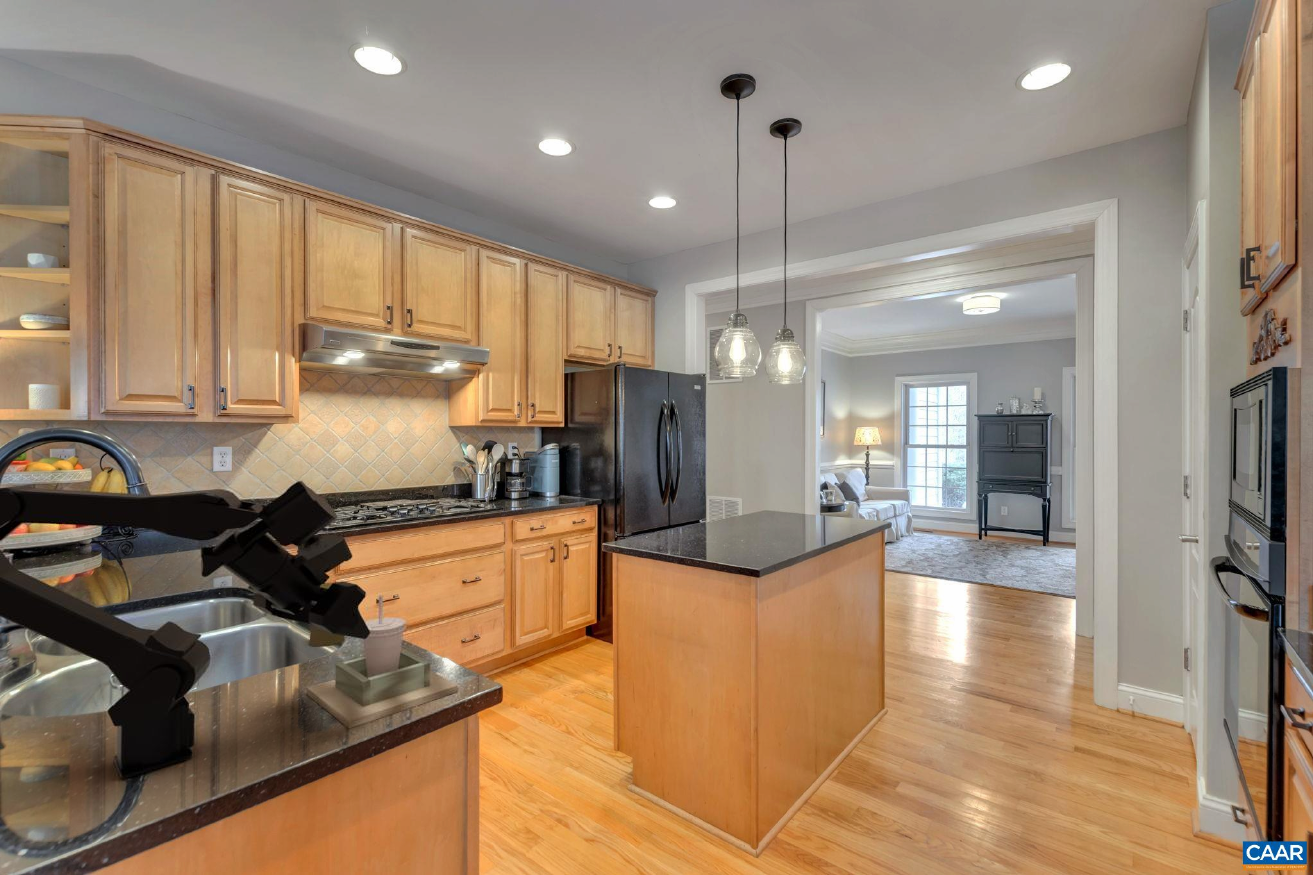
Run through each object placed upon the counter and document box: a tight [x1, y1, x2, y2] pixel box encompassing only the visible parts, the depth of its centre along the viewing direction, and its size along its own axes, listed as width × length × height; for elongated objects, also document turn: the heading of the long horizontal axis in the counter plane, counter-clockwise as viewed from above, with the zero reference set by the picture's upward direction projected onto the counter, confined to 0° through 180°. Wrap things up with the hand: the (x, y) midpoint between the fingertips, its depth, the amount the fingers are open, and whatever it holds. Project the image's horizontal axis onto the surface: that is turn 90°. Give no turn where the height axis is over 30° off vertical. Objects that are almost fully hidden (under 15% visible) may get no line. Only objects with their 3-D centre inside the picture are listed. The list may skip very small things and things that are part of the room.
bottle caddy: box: [306, 647, 459, 729], centre depth 92 cm, size 16×16×4 cm
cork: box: [308, 582, 346, 648], centre depth 115 cm, size 6×6×11 cm
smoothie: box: [362, 595, 407, 678], centre depth 91 cm, size 6×6×14 cm
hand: (348, 630), depth 87 cm, fingers open, 9 cm apart
